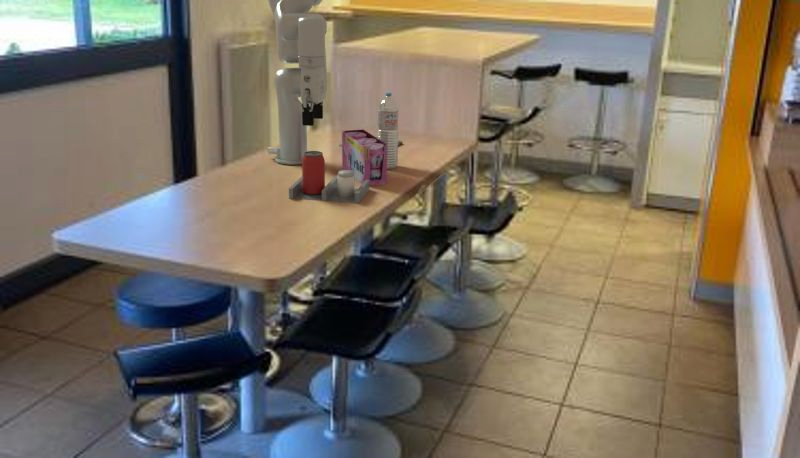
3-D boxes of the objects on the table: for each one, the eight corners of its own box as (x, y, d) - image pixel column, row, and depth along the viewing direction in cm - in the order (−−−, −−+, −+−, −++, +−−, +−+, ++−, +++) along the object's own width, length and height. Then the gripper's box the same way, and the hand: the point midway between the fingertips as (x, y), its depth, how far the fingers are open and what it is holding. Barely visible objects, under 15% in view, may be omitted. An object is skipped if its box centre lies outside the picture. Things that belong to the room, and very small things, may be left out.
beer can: (327, 190, 243) (327, 151, 239) (320, 196, 237) (320, 156, 233) (307, 188, 244) (306, 149, 240) (299, 194, 238) (298, 154, 234)
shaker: (335, 196, 237) (335, 173, 234) (339, 192, 241) (339, 169, 239) (352, 198, 236) (352, 174, 234) (356, 193, 241) (356, 170, 238)
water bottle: (398, 164, 276) (400, 91, 268) (396, 169, 270) (397, 95, 262) (378, 163, 277) (379, 90, 269) (376, 169, 271) (376, 94, 262)
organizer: (289, 201, 235) (288, 188, 234) (302, 188, 248) (302, 175, 247) (358, 206, 232) (359, 193, 230) (369, 192, 245) (369, 180, 243)
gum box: (389, 188, 250) (390, 145, 245) (365, 190, 247) (365, 147, 243) (363, 168, 271) (364, 129, 266) (341, 170, 268) (341, 130, 264)
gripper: (316, 67, 219) (317, 129, 225) (332, 58, 235) (333, 116, 241) (289, 65, 220) (291, 127, 226) (307, 57, 236) (308, 115, 242)
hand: (312, 121), depth 233 cm, fingers open, 9 cm apart
